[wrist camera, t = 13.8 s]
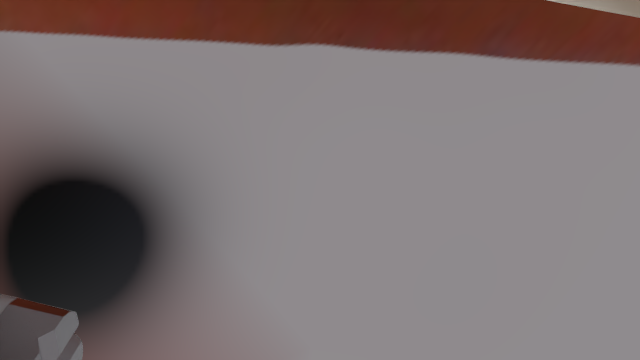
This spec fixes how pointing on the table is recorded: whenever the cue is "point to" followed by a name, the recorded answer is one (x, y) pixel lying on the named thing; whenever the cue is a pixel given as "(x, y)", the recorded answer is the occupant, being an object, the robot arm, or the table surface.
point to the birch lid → (608, 5)
